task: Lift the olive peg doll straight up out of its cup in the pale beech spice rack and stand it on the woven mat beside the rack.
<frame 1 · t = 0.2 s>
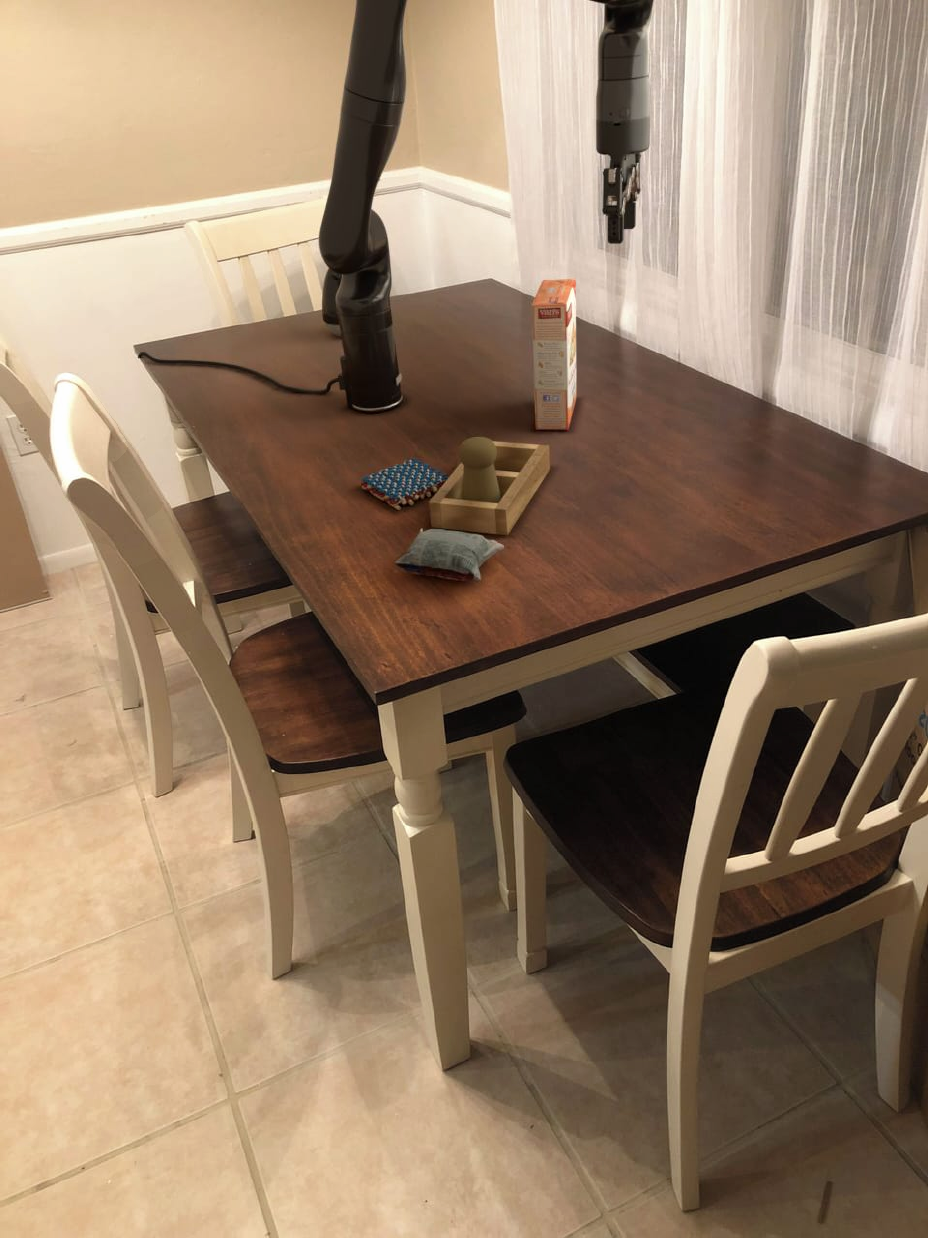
hand: (621, 235, 142), 29 cm above the table, tool pointing down, fingers open, 8 cm apart
packaged food: (451, 569, 124), on the table
cracker box: (557, 415, 162), on the table
olive peg doll: (482, 513, 136), resting in spice rack
woven mat: (406, 490, 144), on the table
spice rack: (493, 497, 139), on the table
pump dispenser: (348, 334, 210), on the table
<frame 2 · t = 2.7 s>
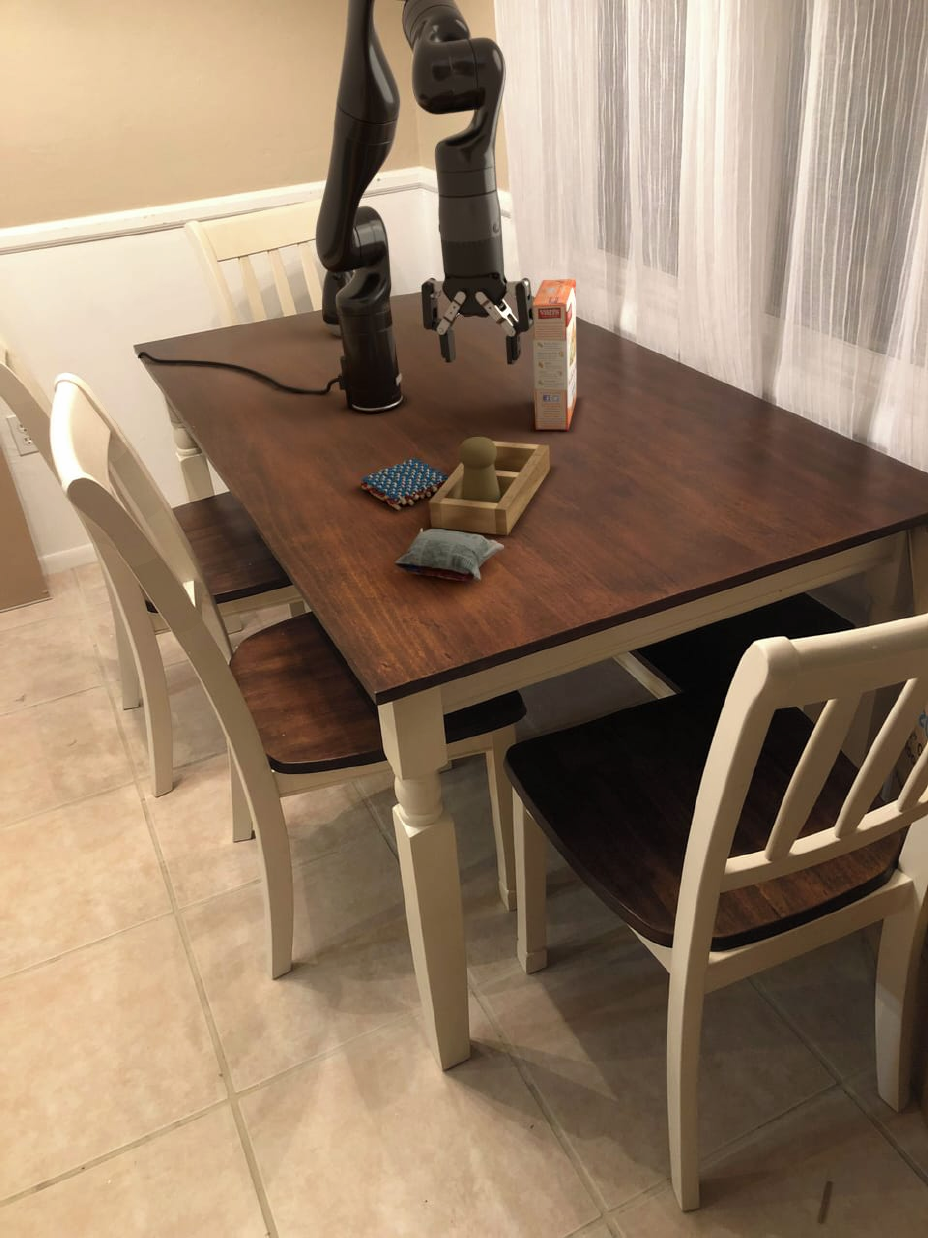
hand: (481, 361, 125), 21 cm above the table, tool pointing down, fingers open, 8 cm apart
nothing on the table moved.
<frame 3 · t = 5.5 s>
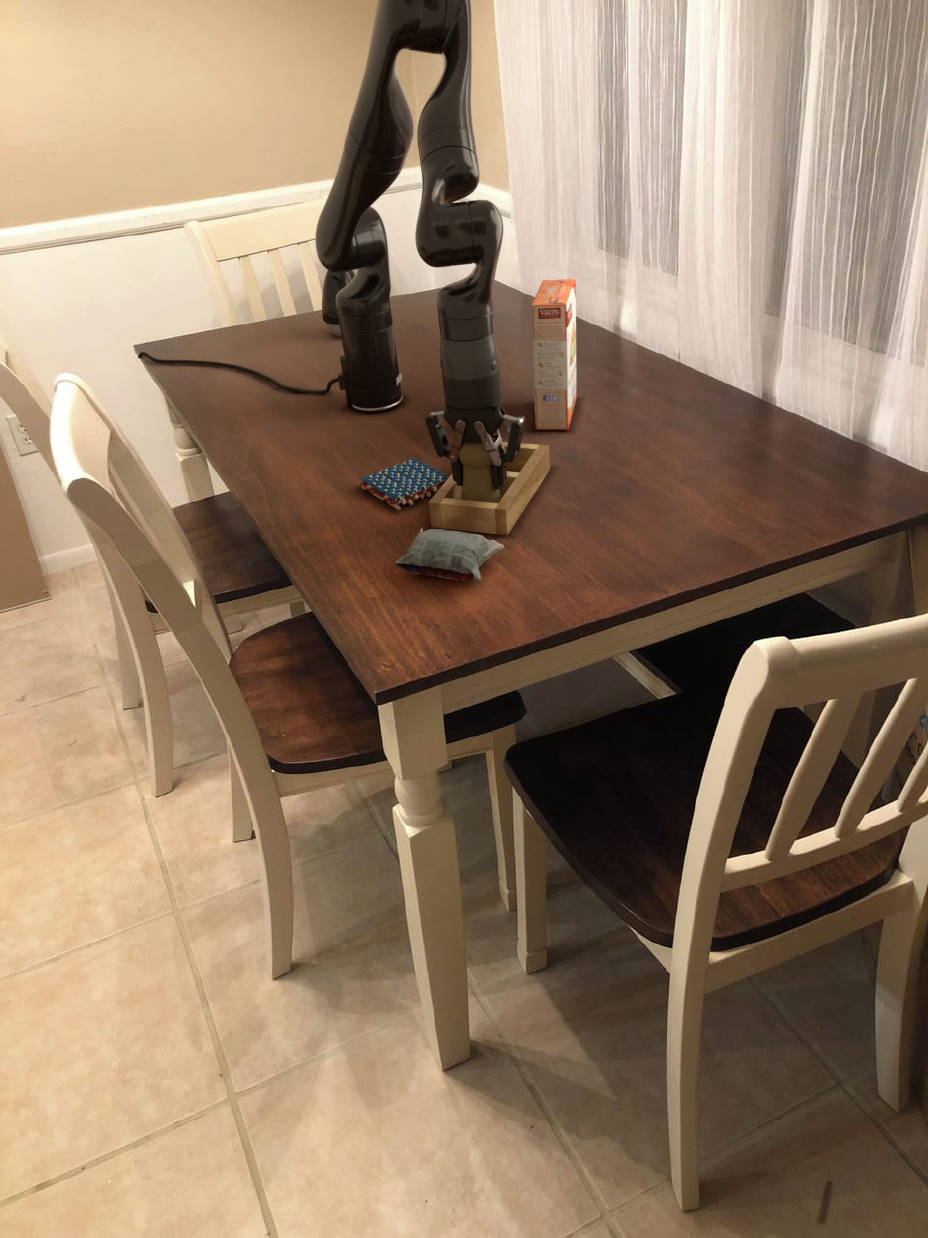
hand: (480, 484, 133), 4 cm above the table, tool pointing down, fingers closed on olive peg doll, 5 cm apart
olive peg doll: (482, 513, 136), resting in spice rack, touching gripper
everything else where it was.
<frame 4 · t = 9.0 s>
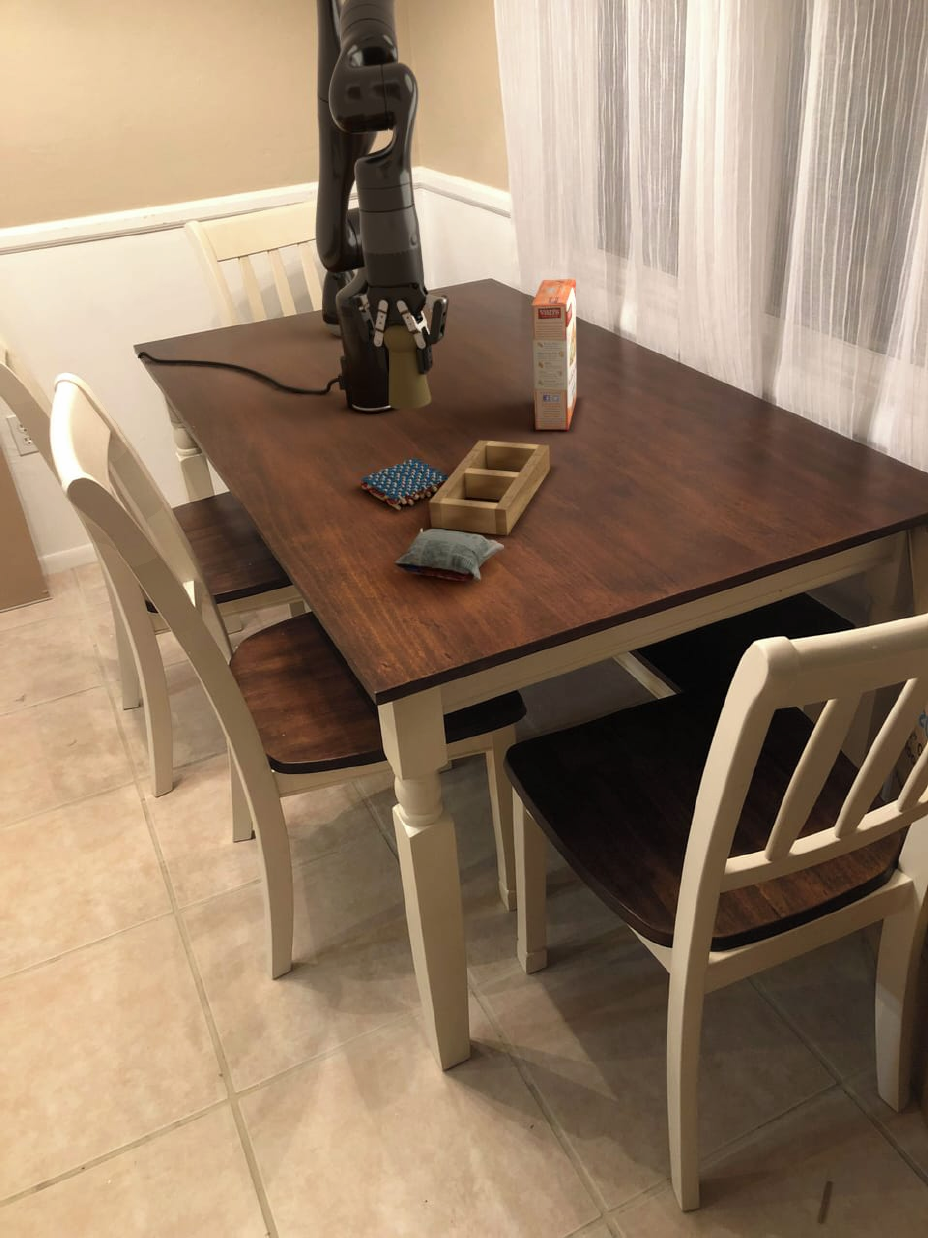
hand: (406, 371, 132), 19 cm above the table, tool pointing down, fingers closed on olive peg doll, 5 cm apart
olive peg doll: (410, 402, 134), point 14 cm above the table, touching gripper
everything else where it was.
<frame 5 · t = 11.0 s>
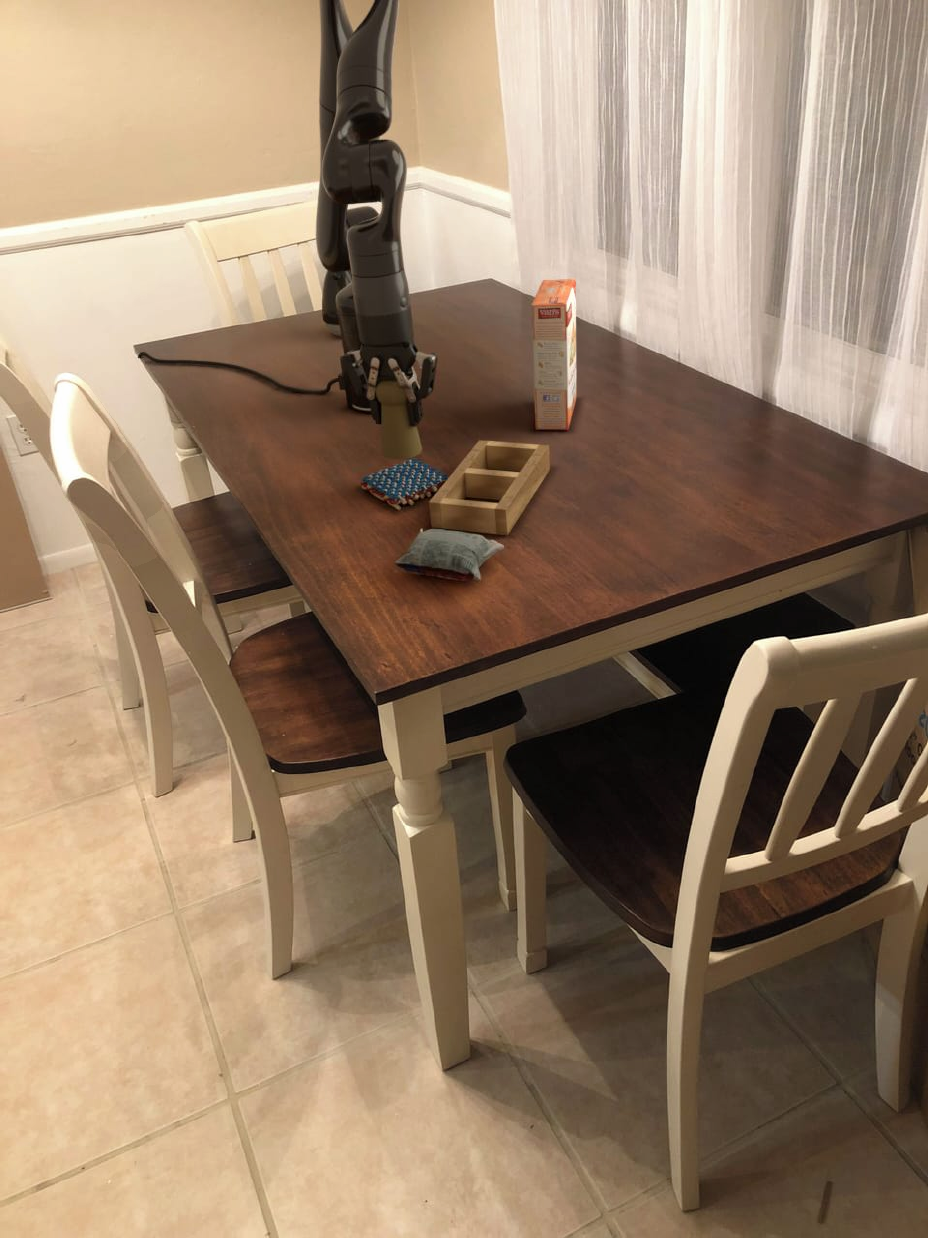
hand: (398, 422, 138), 11 cm above the table, tool pointing down, fingers closed on olive peg doll, 5 cm apart
olive peg doll: (402, 451, 140), point 6 cm above the table, touching gripper
everything else where it was.
when the fingers open (6 cm above the table, at t = 12.5 s): olive peg doll stays where it is, resting on woven mat.
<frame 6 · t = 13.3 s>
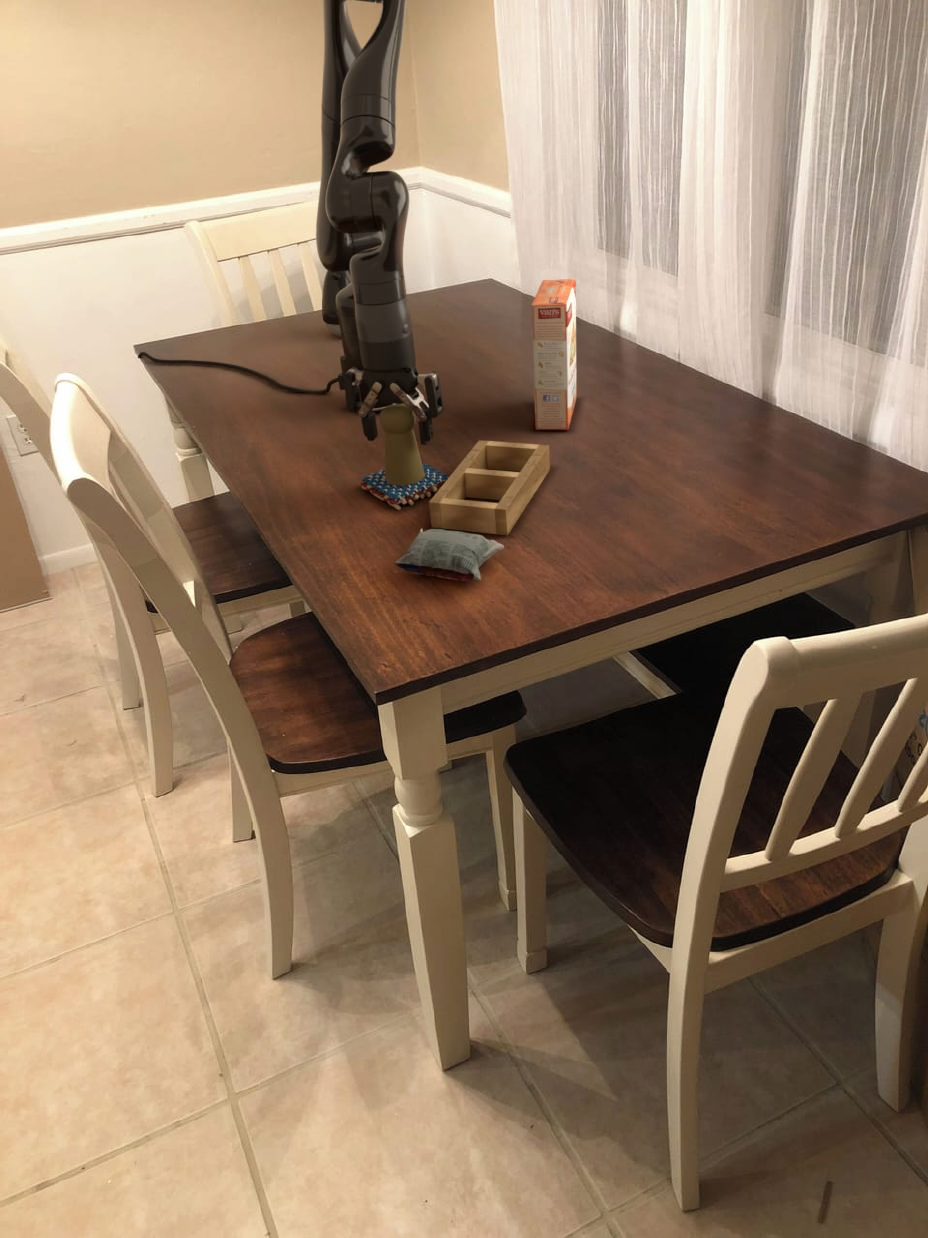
hand: (399, 440, 139), 8 cm above the table, tool pointing down, fingers open, 8 cm apart
olive peg doll: (405, 477, 143), point 2 cm above the table, touching woven mat
woven mat: (406, 490, 144), on the table, touching olive peg doll
everything else where it was.
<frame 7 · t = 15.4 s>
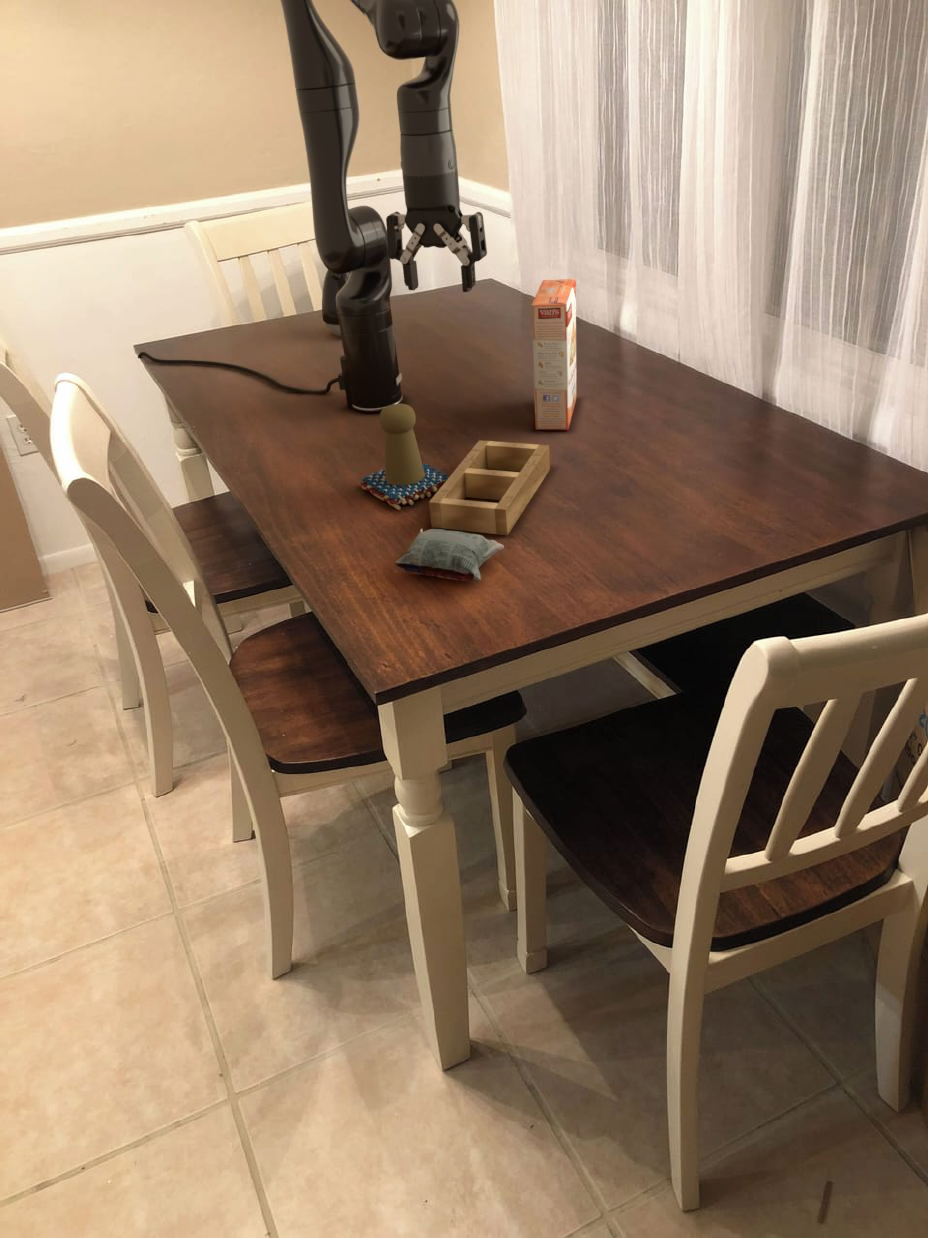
hand: (440, 289, 138), 26 cm above the table, tool pointing down, fingers open, 8 cm apart
nothing on the table moved.
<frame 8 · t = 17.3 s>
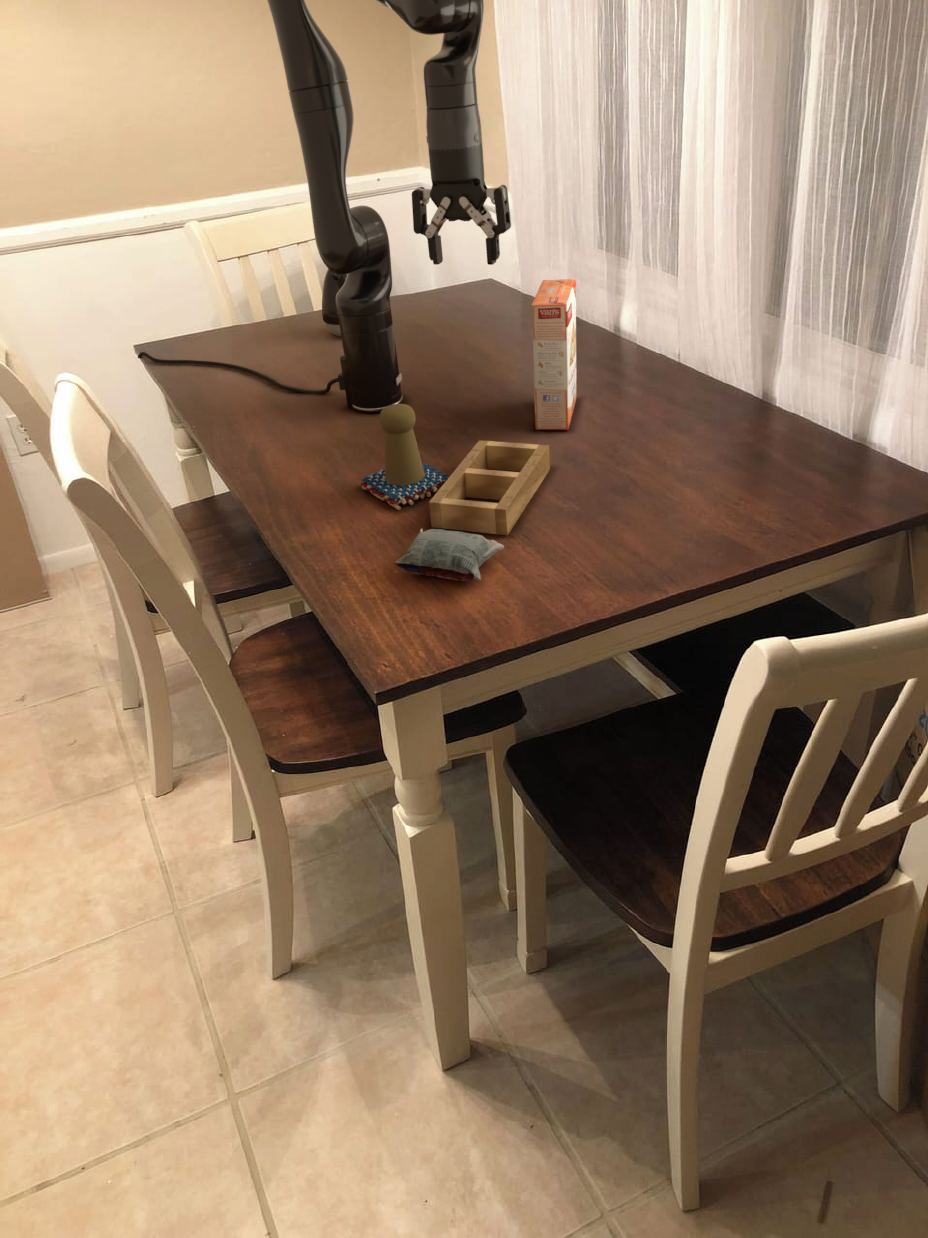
hand: (464, 263, 141), 28 cm above the table, tool pointing down, fingers open, 8 cm apart
nothing on the table moved.
at the end: olive peg doll 0.1 cm from the woven mat (horizontally); olive peg doll point 1.8 cm above the table; olive peg doll tilted 0° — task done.
